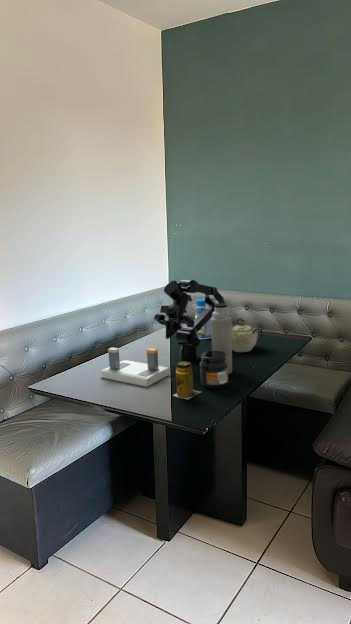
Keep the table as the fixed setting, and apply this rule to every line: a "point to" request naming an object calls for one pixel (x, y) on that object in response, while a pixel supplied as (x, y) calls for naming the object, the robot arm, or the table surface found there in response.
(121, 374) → the box
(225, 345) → the thermos bottle
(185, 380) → the condiment
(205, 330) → the beverage bottle
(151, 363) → the orange-capped grey pillar
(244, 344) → the sugar bowl
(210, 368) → the supplement container
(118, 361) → the on handle
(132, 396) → the table surface
